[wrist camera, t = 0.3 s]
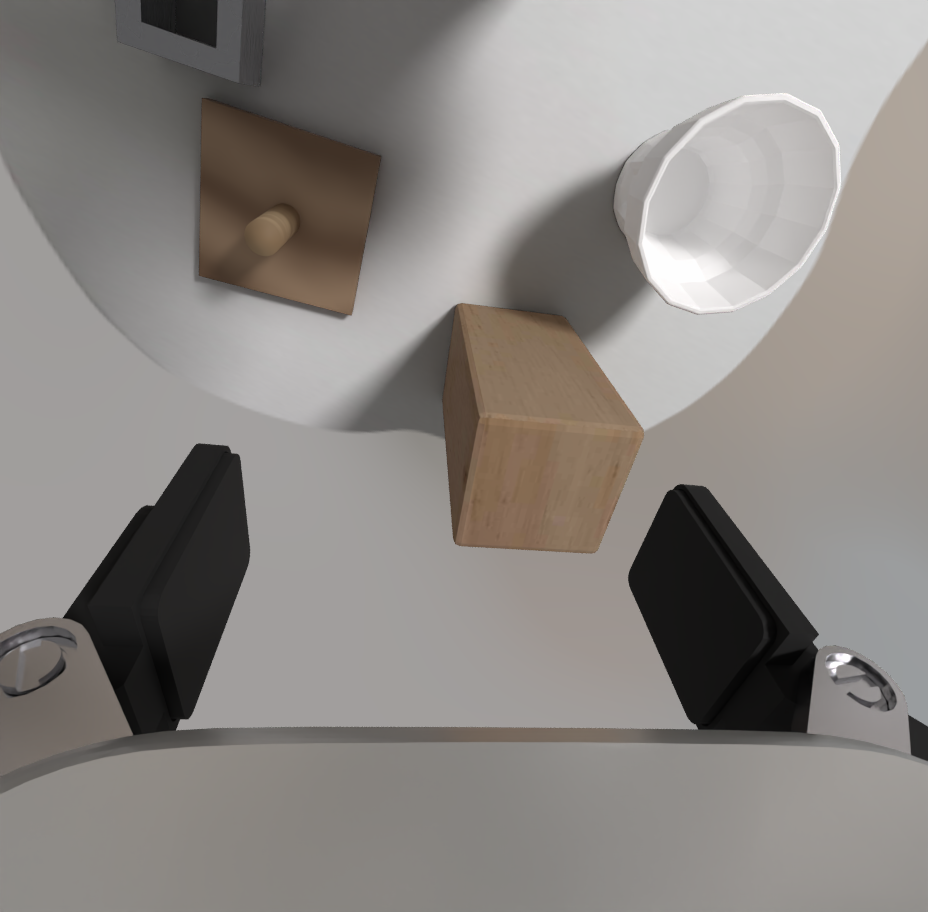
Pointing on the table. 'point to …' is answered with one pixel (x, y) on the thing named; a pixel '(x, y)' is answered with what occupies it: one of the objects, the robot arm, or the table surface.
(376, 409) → the table surface
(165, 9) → the collar
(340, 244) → the post base
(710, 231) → the cup
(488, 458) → the wooden block
